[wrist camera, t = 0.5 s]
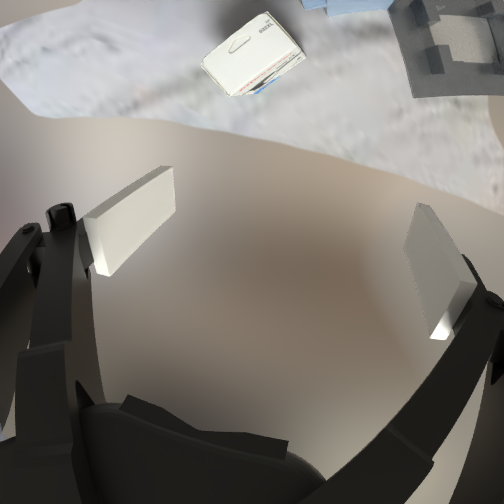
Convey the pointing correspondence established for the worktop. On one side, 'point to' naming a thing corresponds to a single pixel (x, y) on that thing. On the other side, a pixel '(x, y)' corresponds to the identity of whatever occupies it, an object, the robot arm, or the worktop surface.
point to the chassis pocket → (451, 45)
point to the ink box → (253, 57)
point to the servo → (346, 5)
